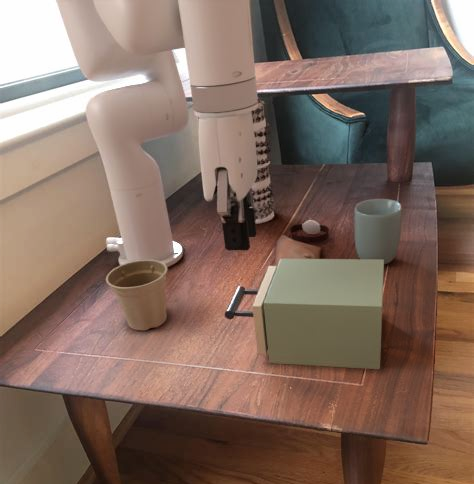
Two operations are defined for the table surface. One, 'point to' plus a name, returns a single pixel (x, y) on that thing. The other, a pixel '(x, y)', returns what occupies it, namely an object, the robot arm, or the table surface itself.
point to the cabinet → (325, 313)
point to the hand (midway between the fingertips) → (241, 241)
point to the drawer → (254, 308)
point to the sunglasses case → (295, 250)
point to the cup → (377, 229)
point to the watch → (310, 228)
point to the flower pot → (141, 292)
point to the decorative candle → (262, 169)
